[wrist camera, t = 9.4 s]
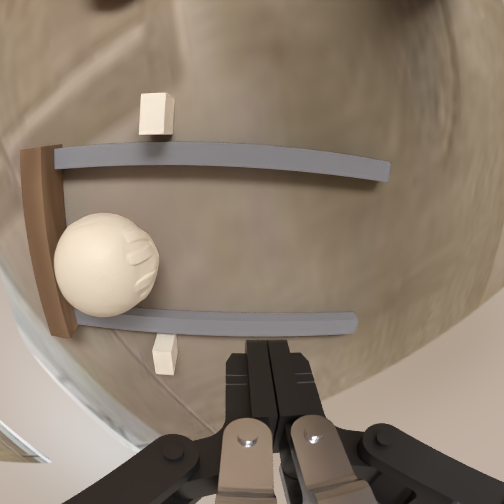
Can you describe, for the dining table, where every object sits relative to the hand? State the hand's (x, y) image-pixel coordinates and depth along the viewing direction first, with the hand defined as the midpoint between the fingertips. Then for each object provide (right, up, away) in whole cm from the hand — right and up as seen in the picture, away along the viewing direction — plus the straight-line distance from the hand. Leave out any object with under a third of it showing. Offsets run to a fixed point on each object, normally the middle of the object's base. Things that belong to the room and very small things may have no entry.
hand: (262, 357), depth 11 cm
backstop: (-16, +5, +10) cm, 19 cm away
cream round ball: (-10, +4, +10) cm, 15 cm away
